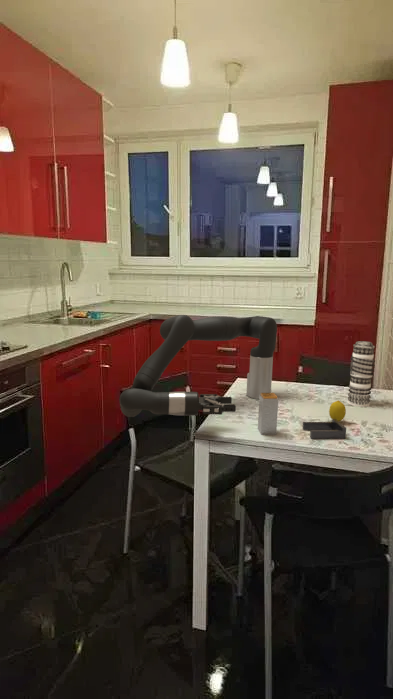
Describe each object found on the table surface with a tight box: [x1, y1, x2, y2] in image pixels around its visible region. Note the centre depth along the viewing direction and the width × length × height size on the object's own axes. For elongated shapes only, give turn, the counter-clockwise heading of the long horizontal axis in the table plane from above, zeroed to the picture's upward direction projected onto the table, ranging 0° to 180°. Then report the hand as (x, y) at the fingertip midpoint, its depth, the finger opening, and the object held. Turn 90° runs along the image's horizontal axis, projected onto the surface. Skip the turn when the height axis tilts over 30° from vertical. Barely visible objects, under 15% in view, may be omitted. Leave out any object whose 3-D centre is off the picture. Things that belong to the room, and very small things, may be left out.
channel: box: [301, 419, 347, 440], centre depth 148 cm, size 11×9×4 cm
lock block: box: [257, 392, 279, 436], centre depth 148 cm, size 5×5×13 cm
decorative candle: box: [347, 340, 376, 408], centre depth 180 cm, size 9×9×25 cm
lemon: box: [328, 400, 347, 422], centre depth 159 cm, size 6×6×8 cm
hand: (233, 404), depth 146 cm, fingers open, 8 cm apart
